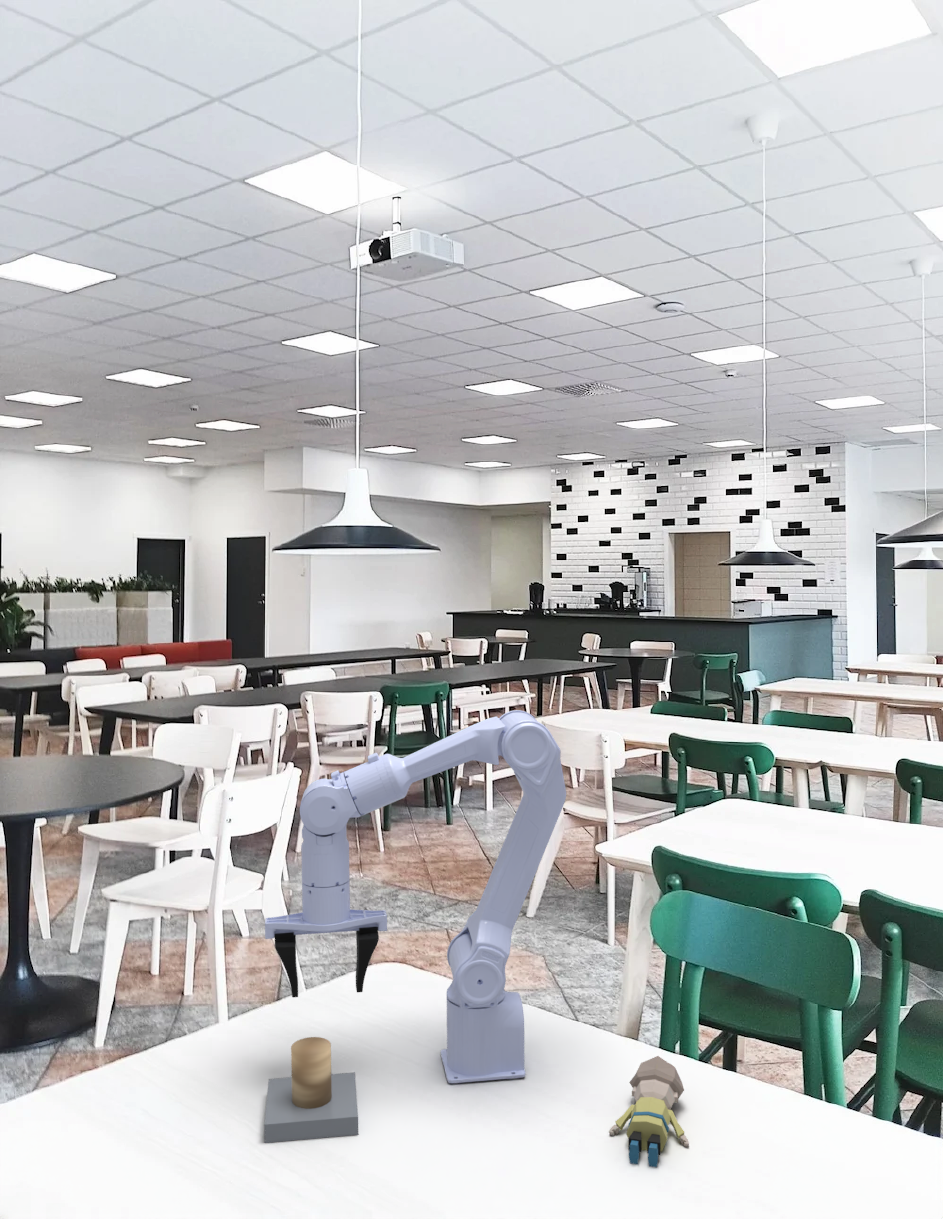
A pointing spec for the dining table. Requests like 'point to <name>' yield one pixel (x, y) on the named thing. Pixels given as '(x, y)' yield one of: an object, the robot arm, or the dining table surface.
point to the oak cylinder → (311, 1072)
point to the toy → (652, 1110)
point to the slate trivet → (311, 1112)
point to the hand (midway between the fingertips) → (327, 991)
